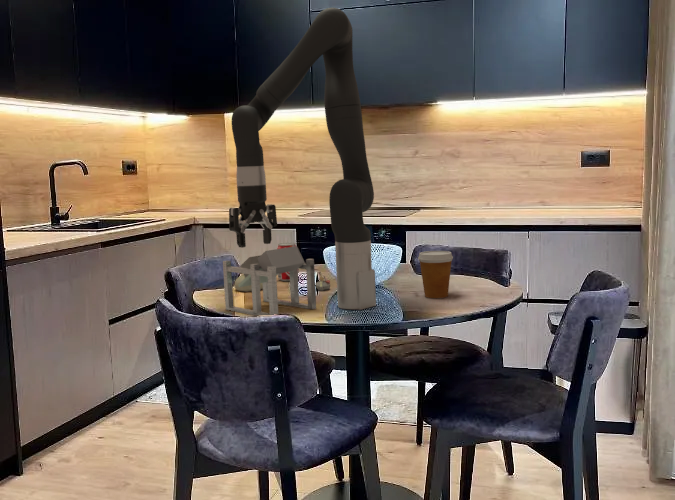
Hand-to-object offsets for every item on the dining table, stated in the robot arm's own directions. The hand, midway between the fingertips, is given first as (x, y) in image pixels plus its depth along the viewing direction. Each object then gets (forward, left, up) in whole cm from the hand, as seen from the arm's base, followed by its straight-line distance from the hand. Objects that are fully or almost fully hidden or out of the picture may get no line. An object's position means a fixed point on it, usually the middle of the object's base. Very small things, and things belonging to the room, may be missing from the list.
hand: (254, 245), depth 179 cm
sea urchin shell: (+22, -15, -17) cm, 32 cm away
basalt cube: (-1, 0, -8) cm, 8 cm away
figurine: (+3, -27, -17) cm, 32 cm away
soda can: (+25, -33, -17) cm, 44 cm away
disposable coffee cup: (-31, -37, -17) cm, 51 cm away
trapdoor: (-7, 0, -9) cm, 11 cm away
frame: (-5, 0, -17) cm, 17 cm away
